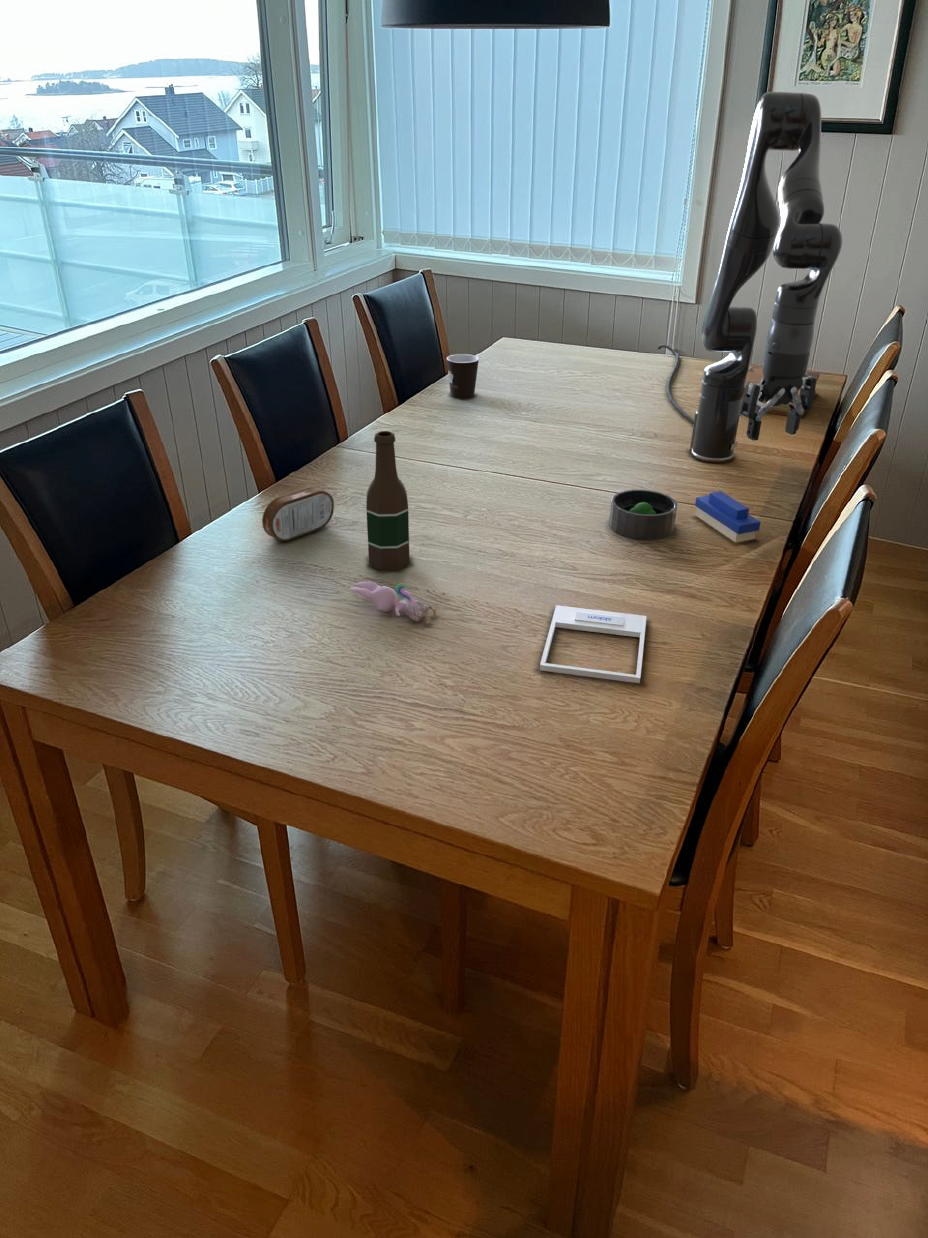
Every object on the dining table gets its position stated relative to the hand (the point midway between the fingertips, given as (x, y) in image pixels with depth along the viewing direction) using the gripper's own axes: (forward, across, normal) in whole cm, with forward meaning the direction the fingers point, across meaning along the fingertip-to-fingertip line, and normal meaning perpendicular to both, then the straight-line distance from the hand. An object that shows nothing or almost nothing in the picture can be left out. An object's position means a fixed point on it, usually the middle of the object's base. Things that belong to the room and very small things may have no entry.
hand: (771, 436), depth 168 cm
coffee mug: (+19, +19, -101) cm, 105 cm away
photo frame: (+19, +49, +25) cm, 58 cm away
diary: (+19, -58, -65) cm, 89 cm away
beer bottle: (+19, +70, -14) cm, 74 cm away
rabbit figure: (+19, +75, +3) cm, 78 cm away
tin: (+19, +82, -31) cm, 89 cm away
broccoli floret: (+18, +20, -9) cm, 29 cm away
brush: (+19, +5, -3) cm, 20 cm away
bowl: (+19, +20, -9) cm, 29 cm away
